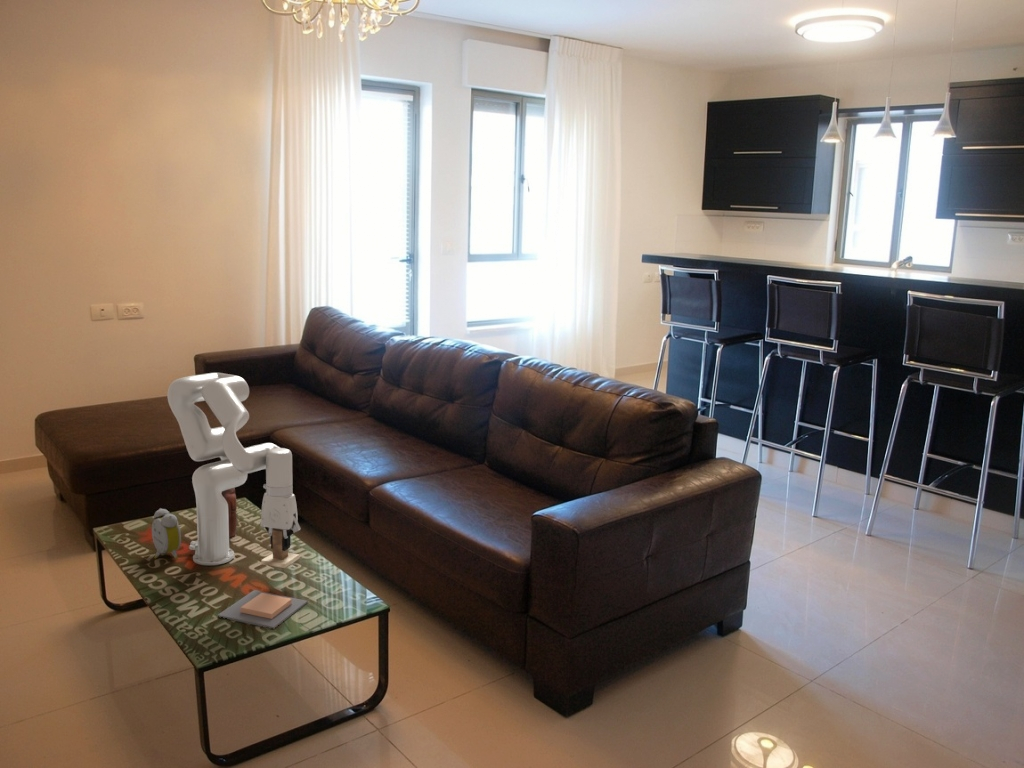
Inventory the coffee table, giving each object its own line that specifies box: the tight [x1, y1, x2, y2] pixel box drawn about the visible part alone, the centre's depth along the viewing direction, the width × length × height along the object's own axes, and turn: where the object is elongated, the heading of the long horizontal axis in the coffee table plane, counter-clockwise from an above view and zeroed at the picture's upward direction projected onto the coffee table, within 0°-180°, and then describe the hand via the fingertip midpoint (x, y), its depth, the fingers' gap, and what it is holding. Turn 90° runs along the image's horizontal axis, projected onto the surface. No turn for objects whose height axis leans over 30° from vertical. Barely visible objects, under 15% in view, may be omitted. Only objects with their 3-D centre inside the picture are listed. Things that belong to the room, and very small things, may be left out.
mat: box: [217, 589, 309, 630], centre depth 235 cm, size 18×17×1 cm
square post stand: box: [260, 529, 300, 569], centre depth 249 cm, size 8×8×10 cm
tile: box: [241, 593, 292, 619], centre depth 234 cm, size 2×10×10 cm
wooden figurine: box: [221, 487, 238, 538], centre depth 287 cm, size 12×6×18 cm, turn 29°
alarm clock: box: [151, 507, 182, 560], centre depth 266 cm, size 12×7×15 cm, turn 44°
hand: (280, 547), depth 249 cm, fingers closed on square post stand, 3 cm apart
